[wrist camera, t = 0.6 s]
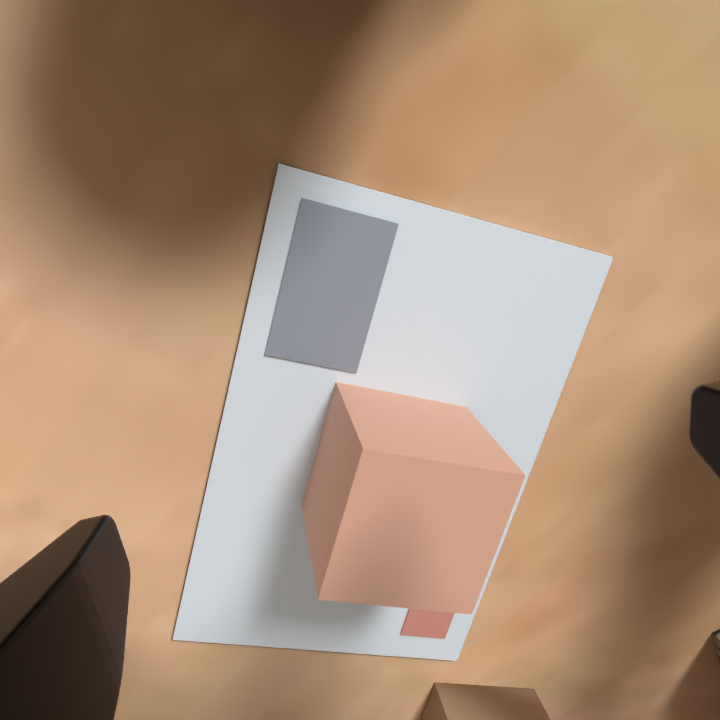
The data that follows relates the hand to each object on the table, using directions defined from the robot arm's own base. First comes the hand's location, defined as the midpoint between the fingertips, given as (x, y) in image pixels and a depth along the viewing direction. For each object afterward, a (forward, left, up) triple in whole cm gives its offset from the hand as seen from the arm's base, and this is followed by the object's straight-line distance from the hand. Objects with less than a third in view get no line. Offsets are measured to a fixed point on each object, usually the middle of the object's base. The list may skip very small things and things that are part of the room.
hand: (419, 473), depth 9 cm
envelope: (-4, +5, -12) cm, 14 cm away
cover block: (-4, +5, -12) cm, 13 cm away
